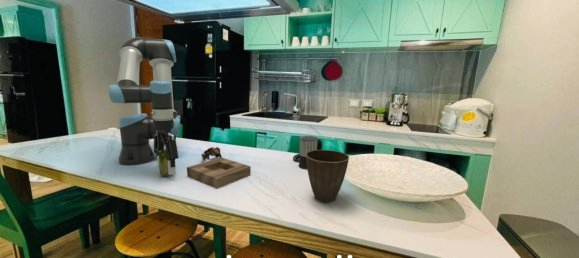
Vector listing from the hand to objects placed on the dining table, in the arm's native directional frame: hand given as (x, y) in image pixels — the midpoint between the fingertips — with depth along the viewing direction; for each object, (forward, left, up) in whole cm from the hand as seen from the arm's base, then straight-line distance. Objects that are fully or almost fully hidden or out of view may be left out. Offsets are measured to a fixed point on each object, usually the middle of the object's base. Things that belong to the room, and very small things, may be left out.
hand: (166, 171), depth 99 cm
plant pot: (+63, +24, -2) cm, 67 cm away
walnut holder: (+17, +14, -2) cm, 22 cm away
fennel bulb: (0, 0, -2) cm, 2 cm away
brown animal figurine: (-2, +25, -2) cm, 25 cm away
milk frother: (+38, +51, -2) cm, 63 cm away
